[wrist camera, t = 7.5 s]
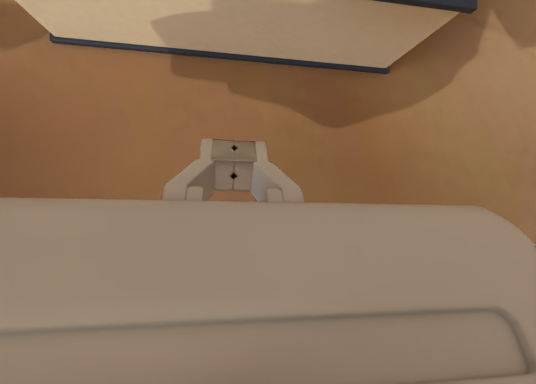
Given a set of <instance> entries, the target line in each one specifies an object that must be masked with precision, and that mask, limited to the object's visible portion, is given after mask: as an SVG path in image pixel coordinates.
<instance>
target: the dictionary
mask: <svg viewBox="0 0 536 384" xmlns="http://www.w3.org/2000/svg"><path fill="white" fill-rule="evenodd" d="M15 1H16V2H17V3H19V4H20V5H21V6H22V7H23V8H24V9H25V10H26V11H27V12H28V13H29V14H31V15H32V16H33V17H34V18H35V19H36V20H37V21H38V22H39V23H40V24H42V25H43V26H44V27H45V28H46V29H47V30H48V31H49V32H50V41H52V42H53V43H61V44H71V45H82V46H93V47H104V48H115V49H125V50H136V51H147V52H158V53H168V54H179V55H190V56H201V57H212V58H222V59H233V60H244V61H255V62H265V63H276V64H287V65H298V66H309V67H319V68H330V69H341V70H352V71H362V72H373V73H384V74H387V73H388V72H389V66H390V65H391V64H392V63H393V62H395V61H396V60H397V59H399V58H400V57H401V56H403V55H404V54H405V53H407V52H408V51H409V50H411V49H412V48H413V47H415V46H416V45H417V44H419V43H420V42H421V41H423V40H424V39H425V38H427V37H428V36H429V35H431V34H432V33H433V32H435V31H436V30H437V29H439V28H440V27H441V26H443V25H444V24H445V23H447V22H448V21H449V20H451V19H452V18H453V17H455V16H456V15H457V14H459V13H460V12H462V13H472V12H474V11H475V10H476V9H477V0H15Z"/></svg>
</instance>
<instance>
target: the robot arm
mask: <svg viewBox="0 0 536 384" xmlns="http://www.w3.org/2000/svg"><path fill="white" fill-rule="evenodd" d="M215 190H236V191H250V192H251V193H252V195H253V196H254V197H255V198H256V200H257V201H258V202H249V201H207V200H208V199H209V198H210V197H211V196H212V194H213V193H214V192H215ZM0 384H536V246H535V245H534V244H533V243H532V241H531V240H530V239H529V238H528V237H527V236H526V235H525V233H524V232H523V231H522V230H521V229H519V228H518V227H517V226H516V225H514V224H513V223H511V222H510V221H508V220H506V219H505V218H503V217H501V216H500V215H498V214H496V213H494V212H493V211H491V210H489V209H487V208H485V207H482V206H477V205H422V204H365V203H308V202H305V200H304V196H303V192H302V188H301V187H299V186H298V185H297V184H296V183H295V182H294V181H292V180H291V179H290V178H289V177H288V176H287V175H286V174H284V173H283V172H282V171H281V170H280V169H279V168H278V167H276V166H275V165H274V164H273V163H272V162H269V160H268V154H267V147H266V142H265V141H234V140H222V139H206V138H202V140H201V147H200V156H199V159H196V160H195V161H193V162H192V163H191V164H190V165H189V166H187V167H186V168H185V169H184V170H182V171H181V172H180V173H179V174H177V175H176V176H175V177H174V178H172V179H171V180H170V181H169V182H167V183H166V184H165V185H164V189H163V194H162V198H161V200H132V199H73V198H14V197H0Z"/></svg>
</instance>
